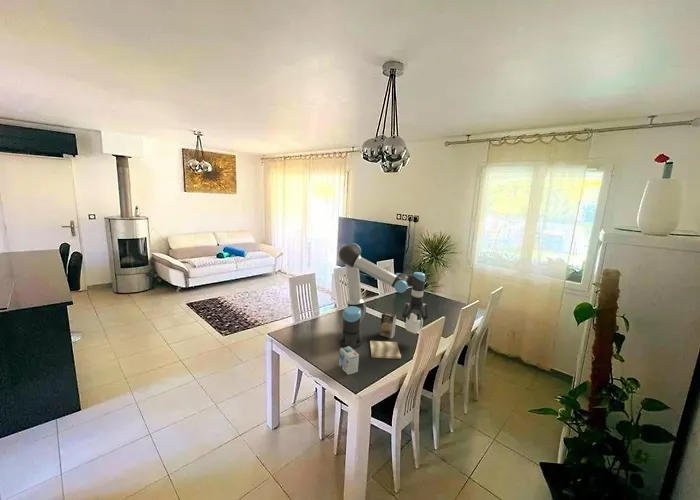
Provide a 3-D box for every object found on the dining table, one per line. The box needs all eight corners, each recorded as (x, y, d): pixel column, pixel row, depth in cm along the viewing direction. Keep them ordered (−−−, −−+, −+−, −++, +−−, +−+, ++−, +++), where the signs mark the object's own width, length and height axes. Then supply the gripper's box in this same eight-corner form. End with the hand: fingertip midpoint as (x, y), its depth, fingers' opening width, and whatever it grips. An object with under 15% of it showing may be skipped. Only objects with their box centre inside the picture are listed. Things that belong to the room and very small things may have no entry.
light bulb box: (338, 365, 171) (339, 348, 169) (348, 362, 175) (349, 345, 173) (348, 375, 163) (349, 357, 161) (358, 372, 166) (359, 354, 164)
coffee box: (379, 335, 211) (380, 314, 208) (383, 331, 216) (384, 311, 213) (391, 339, 206) (393, 317, 203) (394, 335, 211) (396, 314, 208)
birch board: (371, 357, 182) (371, 355, 181) (369, 342, 199) (370, 340, 199) (400, 358, 182) (401, 356, 181) (396, 344, 199) (396, 342, 199)
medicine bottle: (410, 327, 204) (412, 310, 202) (420, 330, 200) (422, 313, 198) (405, 330, 199) (407, 313, 197) (415, 334, 195) (417, 316, 192)
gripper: (401, 296, 191) (397, 328, 195) (435, 298, 191) (431, 331, 195) (399, 292, 198) (395, 323, 203) (432, 294, 198) (428, 326, 203)
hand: (413, 327), depth 199 cm, fingers closed on medicine bottle, 10 cm apart
